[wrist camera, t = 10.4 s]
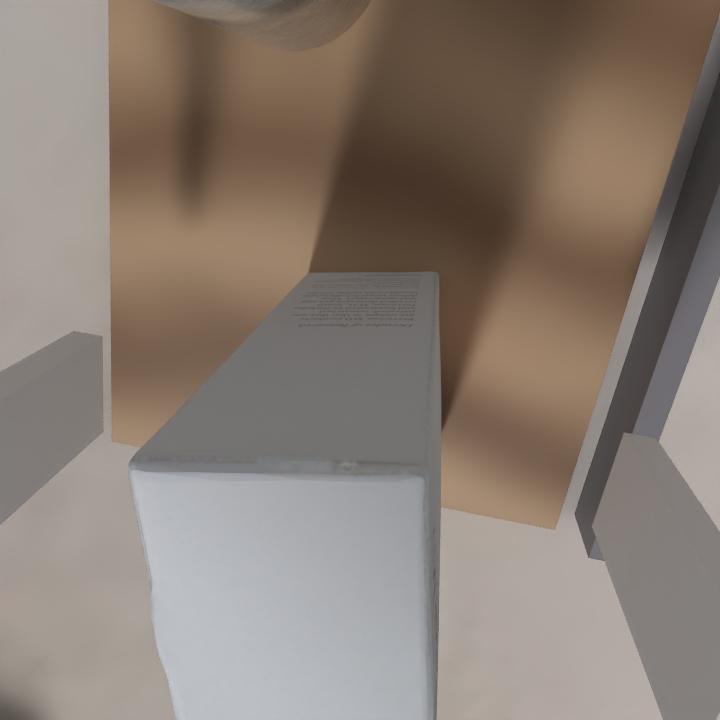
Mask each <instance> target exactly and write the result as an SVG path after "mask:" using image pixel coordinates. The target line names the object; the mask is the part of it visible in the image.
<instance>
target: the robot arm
mask: <svg viewBox="0 0 720 720" xmlns="http://www.w3.org/2000/svg"><path fill="white" fill-rule="evenodd" d="M102 432H103V350H102V336H98V335H92V334H87V333H81V332H76V331H73V332H71V333H69V334H67V335H66V336H64V337H62V338H60V339H59V340H57V341H55V342H53V343H51V344H50V345H48V346H46V347H44V348H42V349H41V350H39V351H37V352H35V353H34V354H32V355H30V356H28V357H26V358H25V359H23V360H21V361H19V362H17V363H16V364H14V365H12V366H10V367H8V368H7V369H5V370H3V371H1V372H0V525H1V524H2V523H3V522H4V521H5V520H6V519H7V518H8V517H9V516H11V515H12V514H13V513H14V512H15V511H16V510H17V509H18V508H19V507H20V506H22V505H23V504H24V503H25V502H26V501H27V500H28V499H29V498H30V497H32V496H33V495H34V494H35V493H36V492H37V491H38V490H39V489H40V488H41V487H43V486H44V485H45V484H46V483H47V482H48V481H49V480H50V479H51V478H53V477H54V476H55V475H56V474H57V473H58V472H59V471H60V470H61V469H62V468H64V467H65V466H66V465H67V464H68V463H69V462H70V461H71V460H72V459H74V458H75V457H76V456H77V455H78V454H79V453H80V452H81V451H82V450H83V449H85V448H86V447H87V446H88V445H89V444H90V443H91V442H92V441H93V440H95V439H96V438H97V437H98V436H99V435H100V434H101V433H102ZM592 528H593V531H594V534H595V536H596V539H597V542H598V544H599V547H600V550H601V553H602V555H603V558H604V561H605V563H606V566H607V569H608V571H609V574H610V577H611V580H612V582H613V585H614V588H615V590H616V593H617V596H618V598H619V601H620V604H621V607H622V609H623V612H624V615H625V617H626V620H627V623H628V625H629V628H630V631H631V634H632V636H633V639H634V642H635V644H636V647H637V650H638V652H639V655H640V658H641V661H642V663H643V666H644V669H645V671H646V674H647V677H648V679H649V682H650V685H651V688H652V690H653V693H654V696H655V698H656V701H657V704H658V706H659V709H660V712H661V715H662V717H663V720H720V531H719V530H718V528H717V527H716V525H715V524H714V523H713V521H712V520H711V518H710V517H709V515H708V514H707V512H706V511H705V509H704V508H703V506H702V505H701V503H700V502H699V500H698V499H697V498H696V496H695V495H694V493H693V492H692V490H691V489H690V487H689V486H688V484H687V483H686V481H685V480H684V478H683V477H682V475H681V474H680V473H679V471H678V470H677V468H676V467H675V465H674V464H673V462H672V461H671V459H670V458H669V456H668V455H667V453H666V452H665V450H664V449H663V447H662V446H661V445H660V443H659V442H658V440H657V439H656V438H652V437H647V436H641V435H636V434H630V433H625V432H624V434H623V437H622V440H621V443H620V445H619V448H618V451H617V454H616V457H615V460H614V463H613V466H612V469H611V472H610V475H609V478H608V480H607V483H606V486H605V489H604V492H603V495H602V498H601V501H600V504H599V507H598V510H597V513H596V516H595V518H594V521H593V524H592Z"/></svg>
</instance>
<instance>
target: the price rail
mask: <svg viewBox="0 0 720 720" xmlns="http://www.w3.org/2000/svg"><path fill="white" fill-rule="evenodd" d="M719 277H720V75H719V78H718V81H717V84H716V87H715V90H714V93H713V96H712V99H711V102H710V105H709V108H708V111H707V114H706V117H705V120H704V123H703V126H702V130H701V133H700V136H699V139H698V142H697V145H696V148H695V151H694V154H693V157H692V160H691V163H690V166H689V169H688V172H687V175H686V178H685V181H684V184H683V187H682V190H681V193H680V196H679V199H678V202H677V205H676V209H675V212H674V215H673V218H672V221H671V224H670V227H669V230H668V233H667V236H666V239H665V242H664V245H663V248H662V251H661V254H660V257H659V260H658V263H657V266H656V269H655V272H654V275H653V278H652V281H651V284H650V288H649V291H648V294H647V297H646V300H645V303H644V306H643V309H642V312H641V315H640V318H639V321H638V324H637V327H636V330H635V333H634V336H633V339H632V342H631V345H630V348H629V351H628V354H627V357H626V360H625V363H624V367H623V370H622V373H621V376H620V379H619V382H618V385H617V388H616V391H615V394H614V397H613V400H612V403H611V406H610V409H609V412H608V415H607V418H606V421H605V424H604V427H603V430H602V433H601V436H600V439H599V442H598V446H597V449H596V452H595V455H594V458H593V461H592V464H591V467H590V470H589V473H588V476H587V479H586V482H585V485H584V488H583V491H582V494H581V497H580V500H579V503H578V506H577V509H576V512H575V517H576V520H577V523H578V526H579V529H580V533H581V536H582V539H583V542H584V545H585V548H586V551H587V554H588V557H589V558H592V559H597V560H602V561H604V558H603V555H602V553H601V550H600V547H599V544H598V542H597V539H596V536H595V534H594V531H593V528H592V524H593V521H594V518H595V516H596V513H597V510H598V507H599V504H600V501H601V498H602V495H603V492H604V489H605V486H606V483H607V480H608V478H609V475H610V472H611V469H612V466H613V463H614V460H615V457H616V454H617V451H618V448H619V445H620V443H621V440H622V437H623V434H624V432H625V433H630V434H636V435H641V436H647V437H652V438H656V439H657V440H658V441H659V439H660V436H661V433H662V431H663V428H664V425H665V423H666V420H667V417H668V414H669V412H670V409H671V406H672V404H673V401H674V398H675V396H676V393H677V390H678V387H679V385H680V382H681V379H682V377H683V374H684V371H685V369H686V366H687V363H688V360H689V358H690V355H691V352H692V350H693V347H694V344H695V342H696V339H697V336H698V333H699V331H700V328H701V325H702V323H703V320H704V317H705V315H706V312H707V309H708V306H709V304H710V301H711V298H712V296H713V293H714V290H715V288H716V285H717V282H718V279H719Z"/></svg>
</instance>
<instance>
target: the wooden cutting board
mask: <svg viewBox="0 0 720 720" xmlns="http://www.w3.org/2000/svg"><path fill="white" fill-rule="evenodd" d="M108 1H109V129H110V257H111V385H112V442H117V443H122V444H127V445H132V446H137V447H143V446H144V444H145V443H146V442H147V441H148V440H149V439H150V438H151V437H152V436H153V435H154V434H155V433H156V432H157V431H158V430H159V429H160V428H162V427H163V425H164V424H165V423H166V422H167V421H168V420H169V419H170V418H171V417H172V416H173V415H174V414H175V413H176V412H177V411H178V410H179V409H180V407H181V406H182V405H183V404H184V403H185V402H186V401H187V400H188V399H189V398H190V397H191V396H192V395H193V394H194V393H195V392H196V391H197V390H198V389H199V388H200V387H201V386H202V385H203V384H204V383H205V382H206V381H207V380H208V379H209V377H210V376H211V375H212V374H213V373H214V372H215V371H216V370H217V369H218V368H219V367H220V366H221V365H222V364H223V363H224V362H225V361H226V360H227V359H228V357H229V356H230V355H231V354H232V353H233V352H234V351H235V350H236V349H237V348H238V347H239V345H240V344H241V343H242V342H243V341H244V340H245V339H246V338H247V337H248V336H249V335H250V334H251V333H252V332H253V331H254V330H255V329H256V328H257V327H258V325H259V324H260V323H261V322H262V321H263V320H264V319H265V318H266V317H267V316H268V315H269V314H270V313H271V312H272V311H273V309H274V308H275V307H276V306H277V305H278V304H279V303H280V302H281V301H282V300H283V299H284V298H285V297H286V296H287V294H288V293H289V292H290V291H291V290H292V289H293V288H294V287H295V286H296V285H297V284H298V283H299V282H300V281H301V280H302V279H303V278H304V277H305V276H306V275H307V274H308V273H320V272H423V271H431V272H437V273H438V274H439V319H440V359H441V507H443V508H448V509H453V510H458V511H463V512H468V513H473V514H478V515H483V516H488V517H493V518H498V519H503V520H508V521H513V522H518V523H523V524H528V525H533V526H538V527H543V528H548V529H553V530H555V528H556V525H557V522H558V519H559V516H560V513H561V510H562V506H563V503H564V500H565V497H566V494H567V491H568V488H569V484H570V481H571V478H572V475H573V472H574V469H575V466H576V462H577V459H578V456H579V453H580V450H581V447H582V444H583V440H584V437H585V434H586V431H587V428H588V425H589V422H590V418H591V415H592V412H593V409H594V406H595V403H596V400H597V396H598V393H599V390H600V387H601V384H602V381H603V378H604V374H605V371H606V368H607V365H608V362H609V359H610V356H611V352H612V349H613V346H614V343H615V340H616V337H617V334H618V330H619V327H620V324H621V321H622V318H623V315H624V312H625V308H626V305H627V302H628V299H629V296H630V293H631V290H632V286H633V283H634V280H635V277H636V274H637V271H638V268H639V264H640V261H641V258H642V255H643V252H644V249H645V246H646V242H647V239H648V236H649V233H650V230H651V227H652V224H653V220H654V217H655V214H656V211H657V208H658V205H659V202H660V198H661V195H662V192H663V189H664V186H665V183H666V180H667V176H668V173H669V170H670V167H671V164H672V161H673V158H674V154H675V151H676V148H677V145H678V142H679V139H680V136H681V133H682V129H683V126H684V123H685V120H686V117H687V114H688V111H689V107H690V104H691V101H692V98H693V95H694V92H695V89H696V85H697V82H698V79H699V76H700V73H701V70H702V67H703V63H704V60H705V57H706V54H707V51H708V48H709V45H710V41H711V38H712V35H713V32H714V29H715V26H716V23H717V19H718V16H719V13H720V0H371V2H370V3H369V5H368V7H367V8H366V10H365V11H364V13H363V14H362V15H361V17H360V18H359V19H358V20H357V22H356V23H355V24H354V25H353V26H352V27H351V28H350V29H349V30H347V31H346V32H345V33H343V34H342V35H341V36H339V37H338V38H336V39H335V40H333V41H331V42H329V43H328V44H325V45H322V46H320V47H317V48H314V49H309V50H305V51H282V50H277V49H273V48H269V47H266V46H264V45H261V44H259V43H256V42H254V41H251V40H249V39H246V38H244V37H242V36H239V35H237V34H234V33H232V32H229V31H227V30H225V29H222V28H220V27H217V26H215V25H212V24H210V23H208V22H205V21H203V20H200V19H198V18H195V17H193V16H190V15H188V14H186V13H183V12H181V11H178V10H176V9H173V8H171V7H169V6H166V5H164V4H161V3H159V2H156V1H154V0H108Z"/></svg>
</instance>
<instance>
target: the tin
mask: <svg viewBox="0 0 720 720" xmlns="http://www.w3.org/2000/svg"><path fill="white" fill-rule="evenodd" d="M154 1H156V2H159V3H161V4H164V5H166V6H169V7H171V8H173V9H176V10H178V11H181V12H183V13H186V14H188V15H190V16H193V17H195V18H198V19H200V20H203V21H205V22H208V23H210V24H212V25H215V26H217V27H220V28H222V29H225V30H227V31H229V32H232V33H234V34H237V35H239V36H242V37H244V38H246V39H249V40H251V41H254V42H256V43H259V44H261V45H264V46H266V47H269V48H273V49H277V50H282V51H305V50H309V49H314V48H317V47H320V46H322V45H325V44H328V43H329V42H331V41H333V40H335V39H336V38H338V37H339V36H341V35H342V34H343V33H345V32H346V31H347V30H349V29H350V28H351V27H352V26H353V25H354V24H355V23H356V22H357V20H358V19H359V18H360V17H361V15H362V14H363V13H364V11H365V10H366V8H367V7H368V5H369V3H370V2H371V0H154Z"/></svg>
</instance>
